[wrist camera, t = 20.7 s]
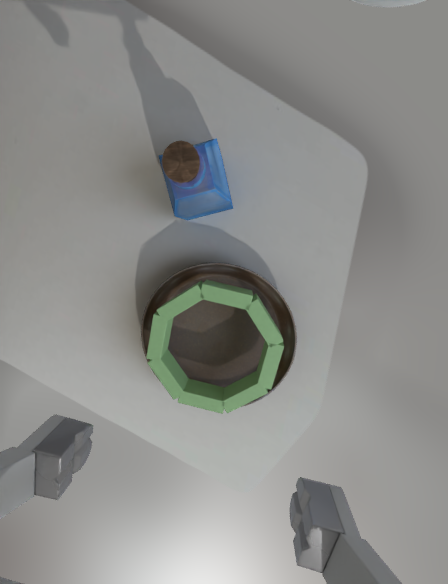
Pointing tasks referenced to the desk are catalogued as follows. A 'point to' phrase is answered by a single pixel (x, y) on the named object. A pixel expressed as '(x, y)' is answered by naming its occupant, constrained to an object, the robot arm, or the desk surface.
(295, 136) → the desk surface
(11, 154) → the desk surface
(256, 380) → the ring
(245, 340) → the plant saucer
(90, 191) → the desk surface
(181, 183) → the perfume bottle
